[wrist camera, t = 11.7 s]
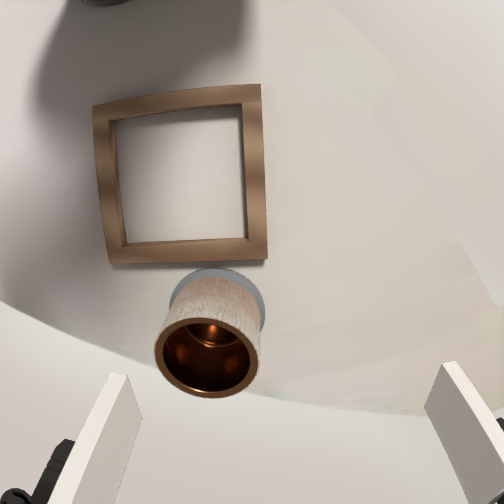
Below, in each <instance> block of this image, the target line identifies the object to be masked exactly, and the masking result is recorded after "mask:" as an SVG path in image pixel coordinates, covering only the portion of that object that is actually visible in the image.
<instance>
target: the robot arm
mask: <svg viewBox="0 0 504 504" xmlns="http://www.w3.org/2000/svg"><path fill="white" fill-rule="evenodd" d="M82 1H83V2H85V3H87V4H90V5H94V6H110V5H116V4H120V3H123V2H126V1H128V0H82ZM424 408H425V410H426V412H427V414H428V416H429V418H430V420H431V422H432V424H433V426H434V428H435V430H436V432H437V434H438V436H439V438H440V440H441V442H442V445H443V447H444V449H445V451H446V453H447V455H448V457H449V459H450V462H451V463H452V466H453V468H454V470H455V473H456V475H457V477H458V479H459V482H460V484H461V486H462V488H463V491H464V493H465V495H466V498H467V500H468V503H469V504H495V503H496V502H497V504H504V419H502V418H498V419H495V418H494V416H493V415H492V413H491V412H490V410H489V409H488V407H487V406H486V404H485V403H484V401H483V400H482V398H481V397H480V395H479V394H478V392H477V391H476V389H475V388H474V387H473V385H472V384H471V382H470V381H469V379H468V378H467V377H466V375H465V374H464V372H463V371H462V370H461V368H460V367H459V366H458V364H457V363H456V361H452V362H447V363H442V364H441V367H440V370H439V372H438V375H437V377H436V380H435V382H434V385H433V387H432V389H431V392H430V394H429V396H428V399H427V401H426V403H425V406H424ZM141 421H142V415H141V413H140V410H139V407H138V404H137V402H136V399H135V396H134V393H133V390H132V387H131V384H130V381H129V377H128V375H125V374H117V373H111V374H110V376H109V378H108V380H107V382H106V383H105V386H104V387H103V389H102V391H101V393H100V395H99V397H98V399H97V401H96V402H95V404H94V406H93V408H92V410H91V412H90V414H89V416H88V418H87V420H86V422H85V424H84V426H83V428H82V430H81V432H80V434H79V436H78V438H77V440H76V442H75V441H71V440H68V439H64V440H63V441H62V442H61V443H60V444H59V445H58V446H57V447H56V448H55V450H54V452H53V454H52V456H51V459H50V460H49V462H48V464H47V468H45V470H44V472H43V474H42V476H41V478H40V480H39V482H38V484H37V487H36V488H35V490H34V493H33V495H32V496H30V495H29V494H27V493H26V492H25V491H24V490H21V489H18V488H14V489H13V488H12V489H10V490H7V491H6V492H5V493H4V494H3V495H2V497H1V500H0V504H114V503H115V500H116V496H117V493H118V490H119V487H120V484H121V481H122V478H123V475H124V471H125V468H126V465H127V462H128V459H129V456H130V453H131V450H132V447H133V444H134V442H135V439H136V435H137V433H138V430H139V427H140V424H141Z"/></svg>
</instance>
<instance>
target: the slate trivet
mask: <svg viewBox="0 0 504 504" xmlns="http://www.w3.org/2000/svg"><path fill="white" fill-rule="evenodd" d="M204 277H222V278H227V279H230V280H233V281H235V282H237V283H239V284H240V285H242V286H243V287H244V288H246V289H247V290H248V291H249V292H250V293H251V294H252V296H253V297H254V299H255V301H256V303H257V305H258V308H259V311H260V332H261V330H262V327H263V325H264V320H265V307H264V302H263V299H262V296H261V294H260V292H259V291H258V289H257V288H256V287H255V285H254V284H253V283H252V282H251V281H250V280H249V279H247V278H246V277H244V276H243V275H241V274H239V273H237V272H235V271H232V270H229V269H225V268H214V267H212V268H204V269H200V270H197V271H195V272H193V273H191V274H189V275H187V276H186V277H185V278H184V279H182V280H181V281H180V283H179V284H178V285H177V287H176V288H175V290H174V292H173V294H172V297H171V300H170V308H171V306H172V304H173V302H174V300H175V298H176V296H177V294H178V293H179V292H180V291H181V290H182V289H183V288H184V287H185V286H186V285H187V284H189V283H190V282H192V281H194V280H197V279H200V278H204ZM169 310H170V309H169Z"/></svg>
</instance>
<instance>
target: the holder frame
mask: <svg viewBox="0 0 504 504" xmlns="http://www.w3.org/2000/svg"><path fill="white" fill-rule="evenodd" d="M233 105H242V115H243V135H244V156H245V177H246V197H247V217H248V237H249V238H226V239H202V240H180V241H160V242H140V243H127V241H126V234H125V227H124V220H123V212H122V205H121V196H120V187H119V177H118V166H117V154H116V140H115V120H120V119H125V118H131V117H137V116H143V115H149V114H156V113H163V112H171V111H179V110H187V109H197V108H207V107H219V106H233ZM92 108H93V133H94V149H95V161H96V172H97V182H98V191H99V199H100V207H101V214H102V221H103V228H104V234H105V240H106V246H107V252H108V257H109V263H110V264H129V263H160V262H191V261H219V260H247V259H268V253H267V223H266V195H265V170H264V146H263V124H262V103H261V84H244V85H228V86H216V87H205V88H195V89H187V90H179V91H171V92H164V93H158V94H151V95H145V96H140V97H134V98H129V99H124V100H119V101H114V102H109V103H105V104H100V105H96V106H92Z"/></svg>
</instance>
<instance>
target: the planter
mask: <svg viewBox="0 0 504 504" xmlns="http://www.w3.org/2000/svg"><path fill="white" fill-rule="evenodd" d="M154 358H155V362H156V365H157V367H158V369H159V371H160V372H161V373H162V375H163V376H164V377H165V378H166V380H167V381H169V382H170V383H171V384H172V385H174V386H175V387H176V388H178V389H180V390H181V391H183V392H185V393H188V394H191V395H194V396H197V397H202V398H211V399H215V398H225V397H229V396H232V395H235V394H237V393H239V392H241V391H243V390H244V389H246V388H247V387H248V386H249V385H250V384H251V383H252V382H253V381H254V379H255V377H256V376H257V373H258V370H259V364H260V311H259V308H258V305H257V303H256V301H255V299H254V297H253V296H252V294H251V293H250V292H249V291H248V290H247V289H246V288H244V287H243V286H242V285H240V284H239V283H237V282H235V281H233V280H230V279H227V278H222V277H204V278H200V279H197V280H194V281H192V282H190V283H189V284H187V285H186V286H185V287H184V288H183V289H182V290H181V291H180V292H179V293H178V294H177V296H176V298H175V300H174V302H173V304H172V306H171V308H170V310H169V313H168V315H167V317H166V319H165V321H164V323H163V326H162V328H161V330H160V332H159V334H158V336H157V338H156V341H155V344H154Z"/></svg>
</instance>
